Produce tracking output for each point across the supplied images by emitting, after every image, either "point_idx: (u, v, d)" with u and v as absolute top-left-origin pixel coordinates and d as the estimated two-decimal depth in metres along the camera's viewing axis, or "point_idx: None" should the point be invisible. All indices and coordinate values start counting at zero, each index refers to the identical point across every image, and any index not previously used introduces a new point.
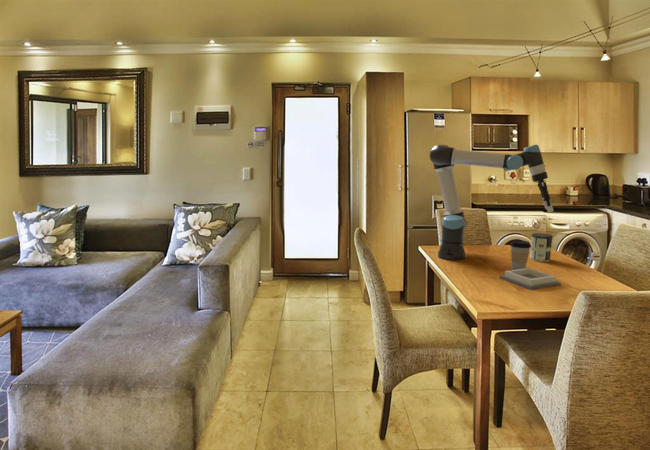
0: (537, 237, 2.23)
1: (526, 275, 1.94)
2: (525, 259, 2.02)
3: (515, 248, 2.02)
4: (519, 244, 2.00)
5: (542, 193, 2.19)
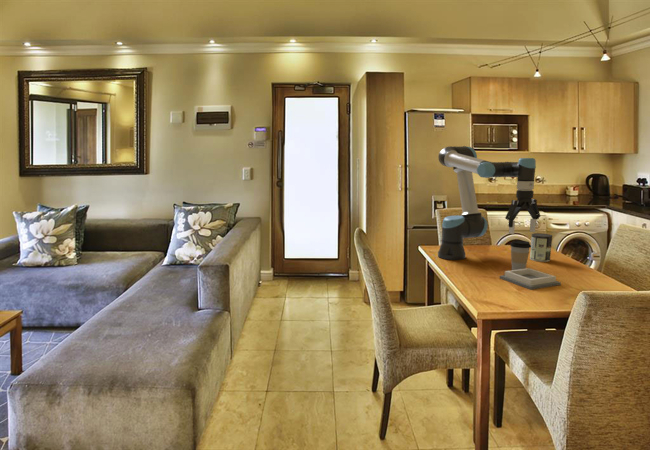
0: (537, 237, 2.23)
1: (526, 275, 1.94)
2: (525, 259, 2.02)
3: (515, 248, 2.02)
4: (519, 244, 2.00)
5: None
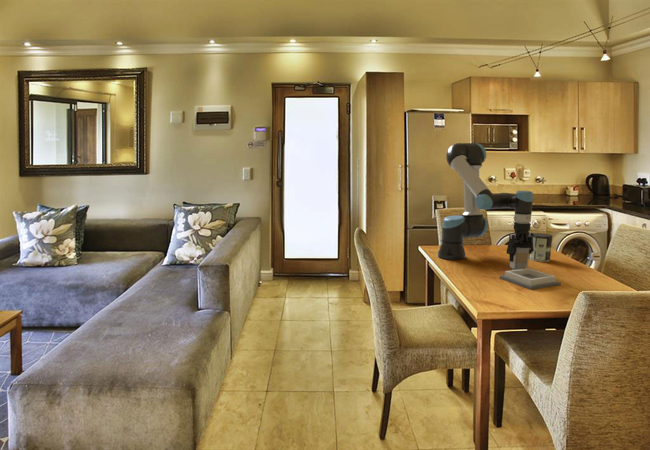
0: (537, 237, 2.23)
1: (526, 275, 1.94)
2: (525, 259, 2.02)
3: None
4: (519, 244, 2.00)
5: None
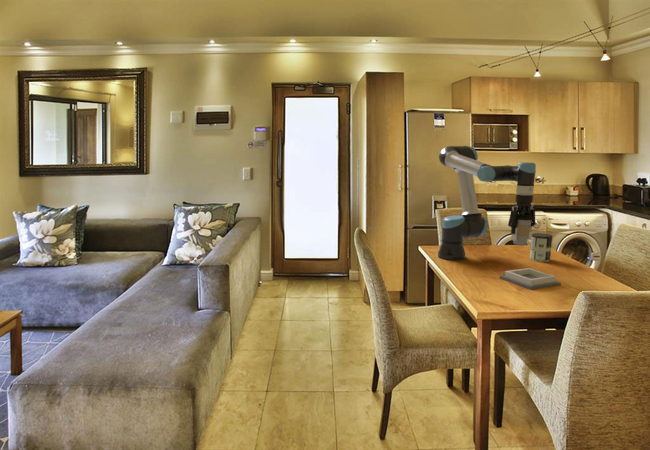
0: (537, 237, 2.23)
1: (526, 275, 1.94)
2: (527, 232, 2.00)
3: None
4: (521, 216, 1.98)
5: None
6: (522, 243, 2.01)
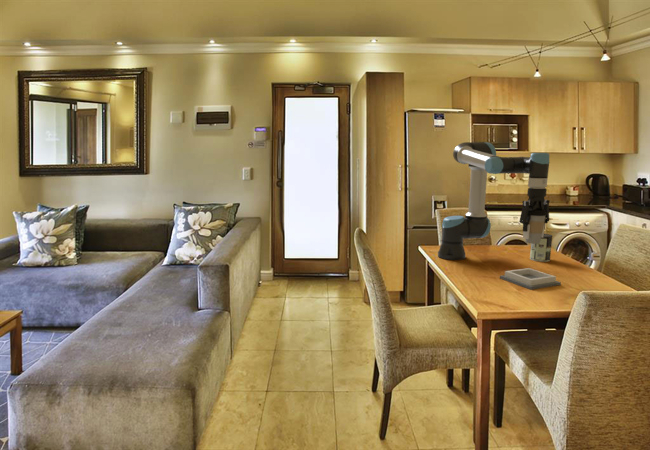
0: None
1: (526, 275, 1.94)
2: (540, 229, 1.81)
3: None
4: (534, 212, 1.80)
5: None
6: (535, 241, 1.83)
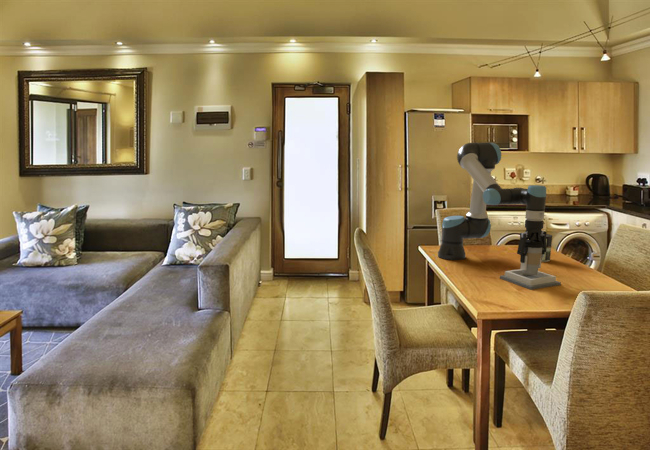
0: None
1: (526, 275, 1.94)
2: (538, 260, 1.84)
3: None
4: (531, 244, 1.83)
5: None
6: (532, 272, 1.85)
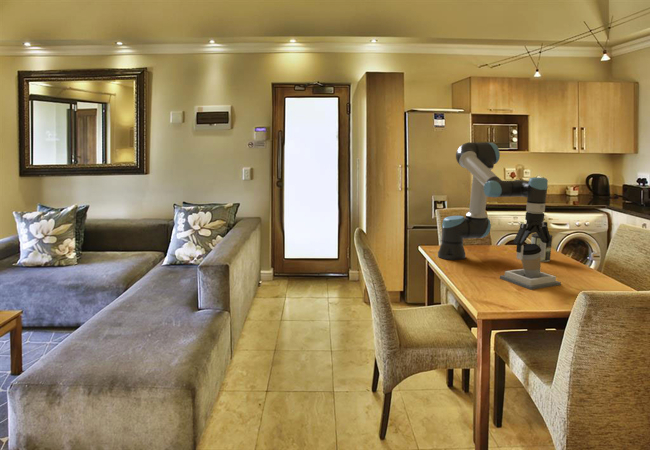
0: (537, 237, 2.23)
1: None
2: (538, 264, 1.85)
3: (524, 255, 1.85)
4: (528, 251, 1.83)
5: None
6: (535, 276, 1.87)
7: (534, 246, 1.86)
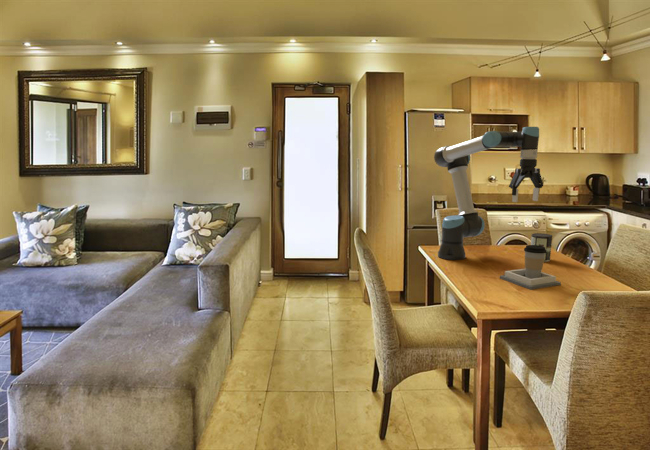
0: (537, 237, 2.23)
1: None
2: (540, 265, 1.86)
3: (529, 253, 1.86)
4: (534, 249, 1.84)
5: None
6: (535, 277, 1.87)
7: (540, 247, 1.87)
